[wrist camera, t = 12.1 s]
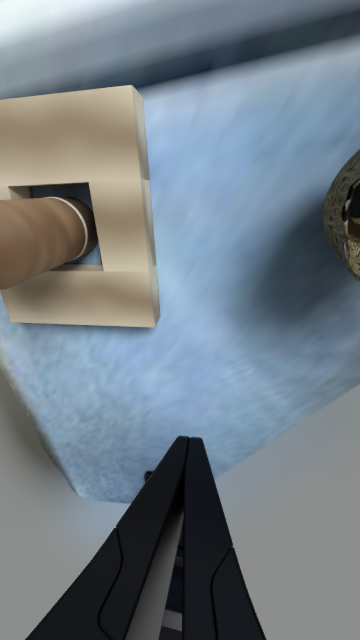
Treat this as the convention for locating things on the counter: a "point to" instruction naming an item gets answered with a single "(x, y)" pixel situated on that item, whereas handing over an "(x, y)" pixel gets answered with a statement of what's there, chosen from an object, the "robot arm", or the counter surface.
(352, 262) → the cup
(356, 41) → the counter surface
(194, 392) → the counter surface
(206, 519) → the robot arm
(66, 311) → the board
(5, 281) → the peg
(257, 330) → the counter surface
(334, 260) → the counter surface
